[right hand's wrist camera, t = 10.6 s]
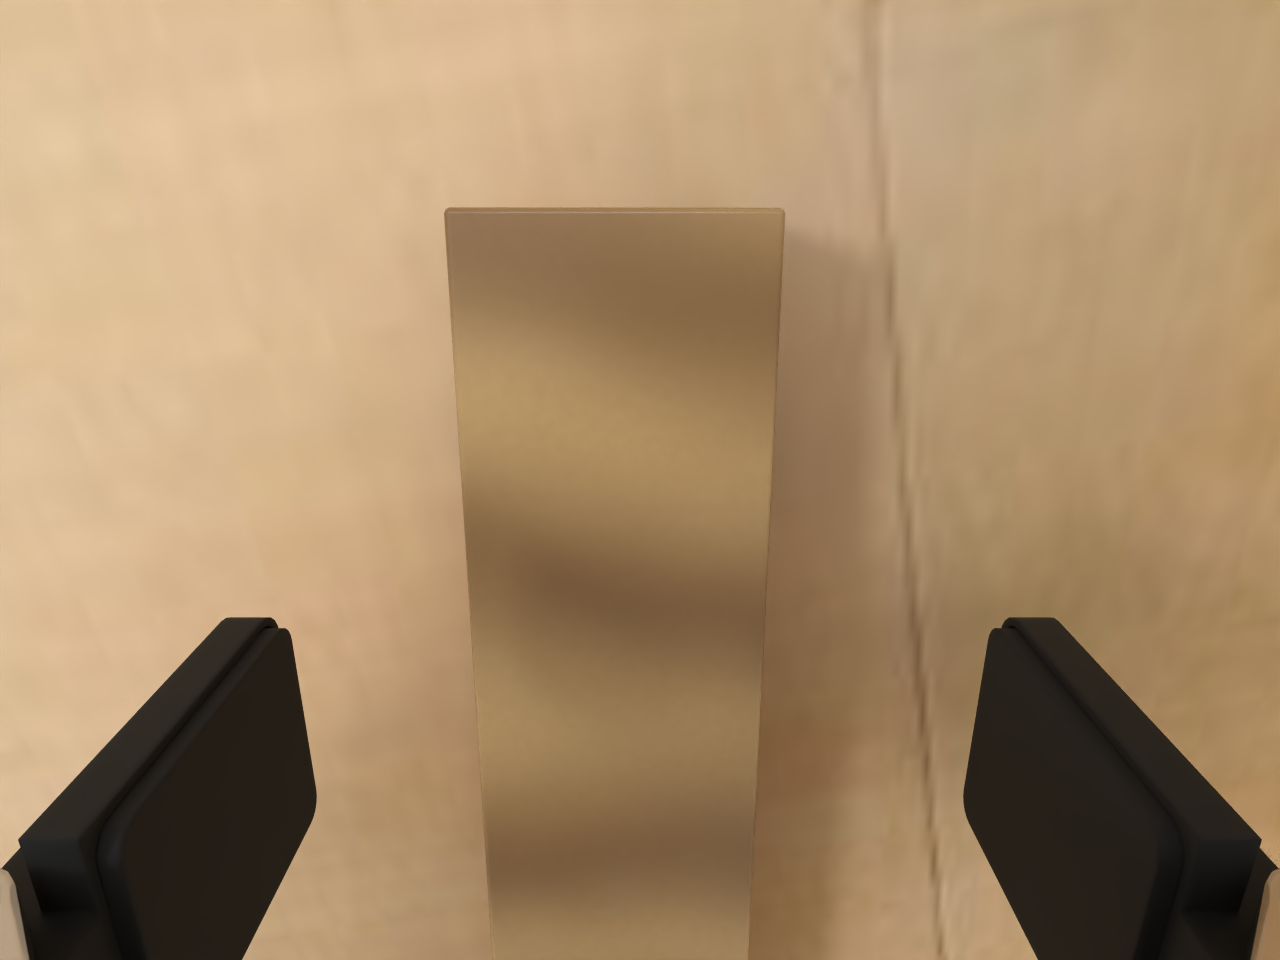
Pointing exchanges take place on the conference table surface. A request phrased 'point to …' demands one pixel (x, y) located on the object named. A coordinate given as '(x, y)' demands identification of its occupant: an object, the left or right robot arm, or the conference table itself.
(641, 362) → the beam
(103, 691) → the conference table surface
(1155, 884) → the right robot arm
